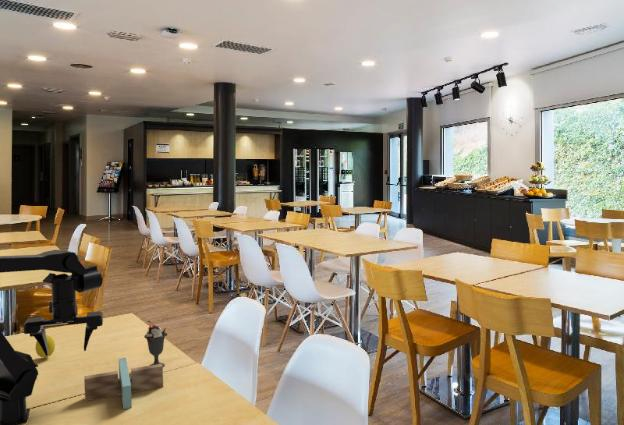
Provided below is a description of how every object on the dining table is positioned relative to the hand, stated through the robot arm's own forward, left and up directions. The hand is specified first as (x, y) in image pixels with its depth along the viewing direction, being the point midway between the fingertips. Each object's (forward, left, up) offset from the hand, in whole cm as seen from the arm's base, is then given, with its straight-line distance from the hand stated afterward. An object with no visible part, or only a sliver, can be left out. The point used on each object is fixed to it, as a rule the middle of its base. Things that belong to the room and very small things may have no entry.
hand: (66, 352), depth 131 cm
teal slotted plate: (-5, -14, -12) cm, 19 cm away
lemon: (+31, +8, -12) cm, 34 cm away
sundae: (+9, -24, -12) cm, 29 cm away
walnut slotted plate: (-5, -14, -12) cm, 19 cm away
